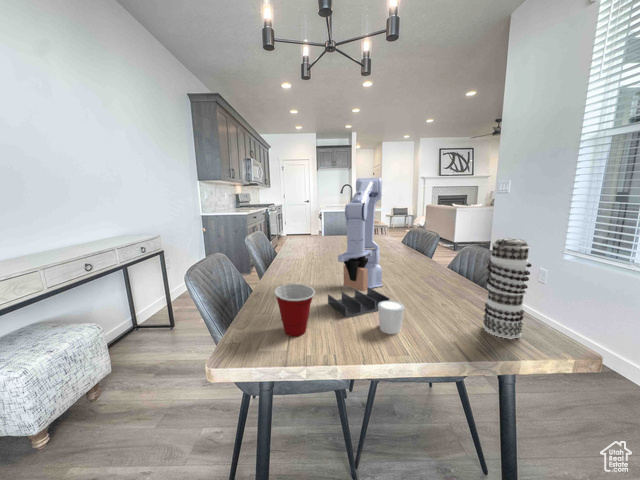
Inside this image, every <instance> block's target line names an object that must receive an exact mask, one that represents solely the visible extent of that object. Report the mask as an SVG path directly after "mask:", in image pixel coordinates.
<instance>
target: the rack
mask: <svg viewBox="0 0 640 480" xmlns="http://www.w3.org/2000/svg"><path fill="white" fill-rule="evenodd" d="M382 301H391V300H390V297H388V296H387V295H384V294H382V293H380V292H379V291H377V290H374V288H369V287H368V290H366V294H364V293H363V292H362V291H360V290H358V289H354V296H350V295H348V294H347V293H345V291H341V298H340V299H336V298H334V297H333V296H332V295H330V294H327V304H328V305H329V306H330V307H331V308H332V309H333V310H335V311H336V312H337V313H339V314H340V315H341V316H343V318H344V319H348V318H351V317H352V318H353V317H357V316H361V315H365V314H370V313H375V312H379V311H378V303H379V302H382Z"/></svg>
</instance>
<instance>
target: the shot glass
mask: <svg viewBox="0 0 640 480" xmlns="http://www.w3.org/2000/svg"><path fill="white" fill-rule="evenodd" d="M404 311H405V306H404V304H402V303H401V302H398V301H395V300H390V301H382V302H379V303H378V311H377V312H378V321H379V330H380V331H381V332H383V333H385V334H389V335H397V334H399V333H400V332H401V330H402V324H403V319H404V318H403V317H404Z"/></svg>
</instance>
